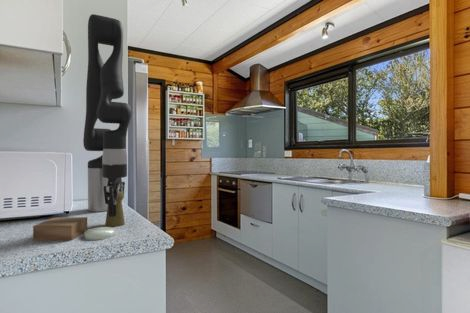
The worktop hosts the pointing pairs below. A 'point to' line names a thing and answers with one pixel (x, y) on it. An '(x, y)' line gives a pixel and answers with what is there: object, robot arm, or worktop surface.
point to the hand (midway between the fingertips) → (115, 214)
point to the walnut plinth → (59, 229)
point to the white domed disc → (99, 233)
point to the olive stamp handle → (119, 217)
